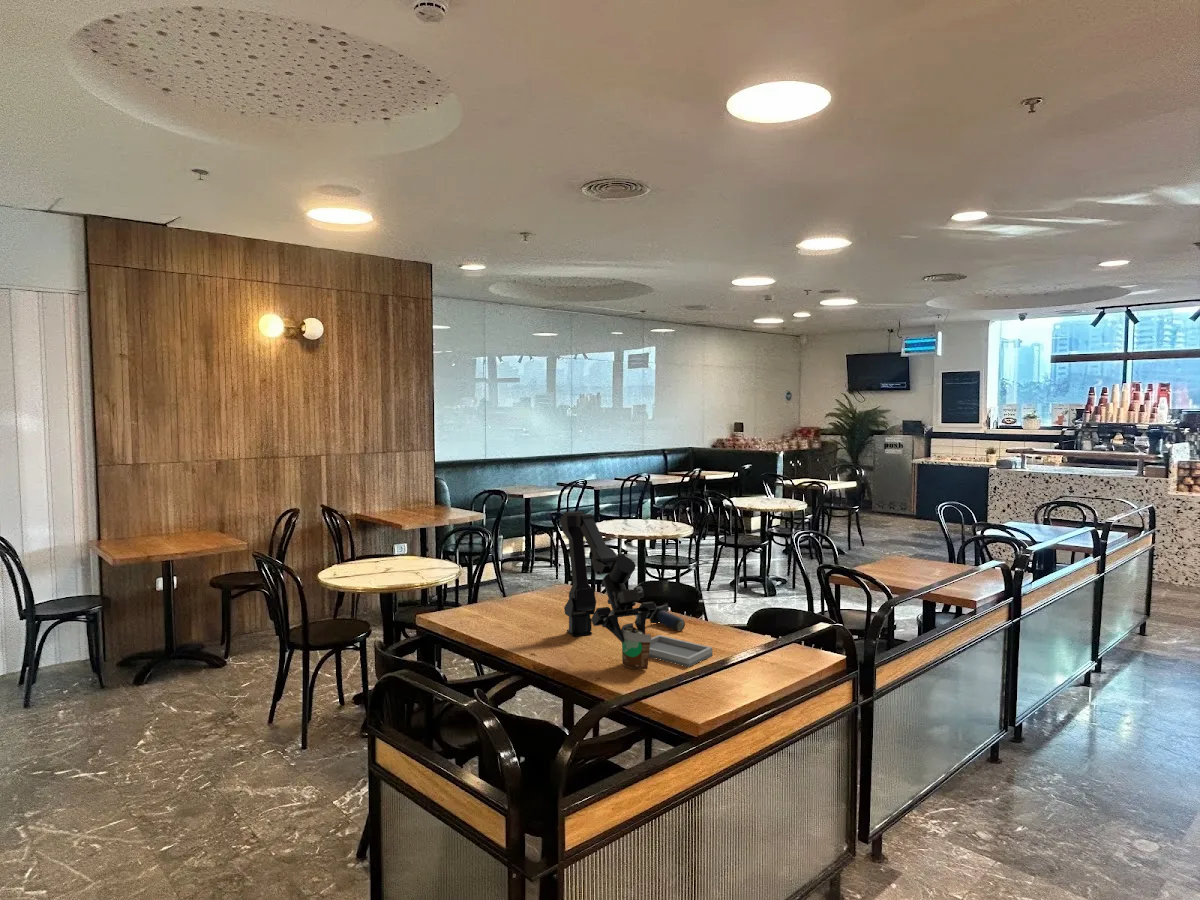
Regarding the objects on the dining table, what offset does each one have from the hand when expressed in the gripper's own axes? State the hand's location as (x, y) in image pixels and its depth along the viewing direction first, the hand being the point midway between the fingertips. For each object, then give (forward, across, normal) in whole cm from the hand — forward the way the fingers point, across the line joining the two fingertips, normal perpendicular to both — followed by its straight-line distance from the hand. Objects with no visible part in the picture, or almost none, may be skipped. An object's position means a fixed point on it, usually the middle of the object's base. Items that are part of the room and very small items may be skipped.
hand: (633, 640), depth 204 cm
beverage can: (-15, +30, +28) cm, 43 cm away
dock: (+2, +16, +10) cm, 19 cm away
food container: (+4, 0, +6) cm, 8 cm away
